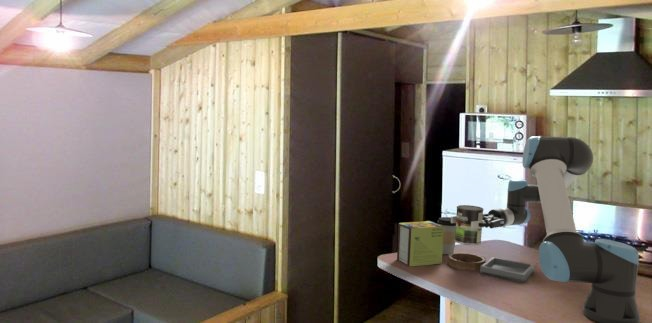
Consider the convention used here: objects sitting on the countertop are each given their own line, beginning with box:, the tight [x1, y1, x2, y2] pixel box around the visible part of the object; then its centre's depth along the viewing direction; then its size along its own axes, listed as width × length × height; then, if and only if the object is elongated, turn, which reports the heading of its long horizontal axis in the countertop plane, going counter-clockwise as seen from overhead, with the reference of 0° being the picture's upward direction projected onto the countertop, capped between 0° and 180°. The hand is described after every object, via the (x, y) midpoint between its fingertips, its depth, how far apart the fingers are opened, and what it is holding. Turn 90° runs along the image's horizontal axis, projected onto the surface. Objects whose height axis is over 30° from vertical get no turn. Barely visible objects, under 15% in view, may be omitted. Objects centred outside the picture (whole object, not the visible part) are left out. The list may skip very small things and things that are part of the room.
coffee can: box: [455, 204, 484, 246], centre depth 202 cm, size 10×10×14 cm
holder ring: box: [447, 252, 487, 272], centre depth 203 cm, size 14×14×3 cm
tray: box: [479, 256, 535, 284], centre depth 194 cm, size 16×16×3 cm
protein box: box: [396, 220, 444, 267], centre depth 206 cm, size 10×15×16 cm
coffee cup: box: [436, 216, 457, 255], centre depth 220 cm, size 9×9×15 cm
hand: (461, 222), depth 199 cm, fingers closed on coffee can, 10 cm apart
